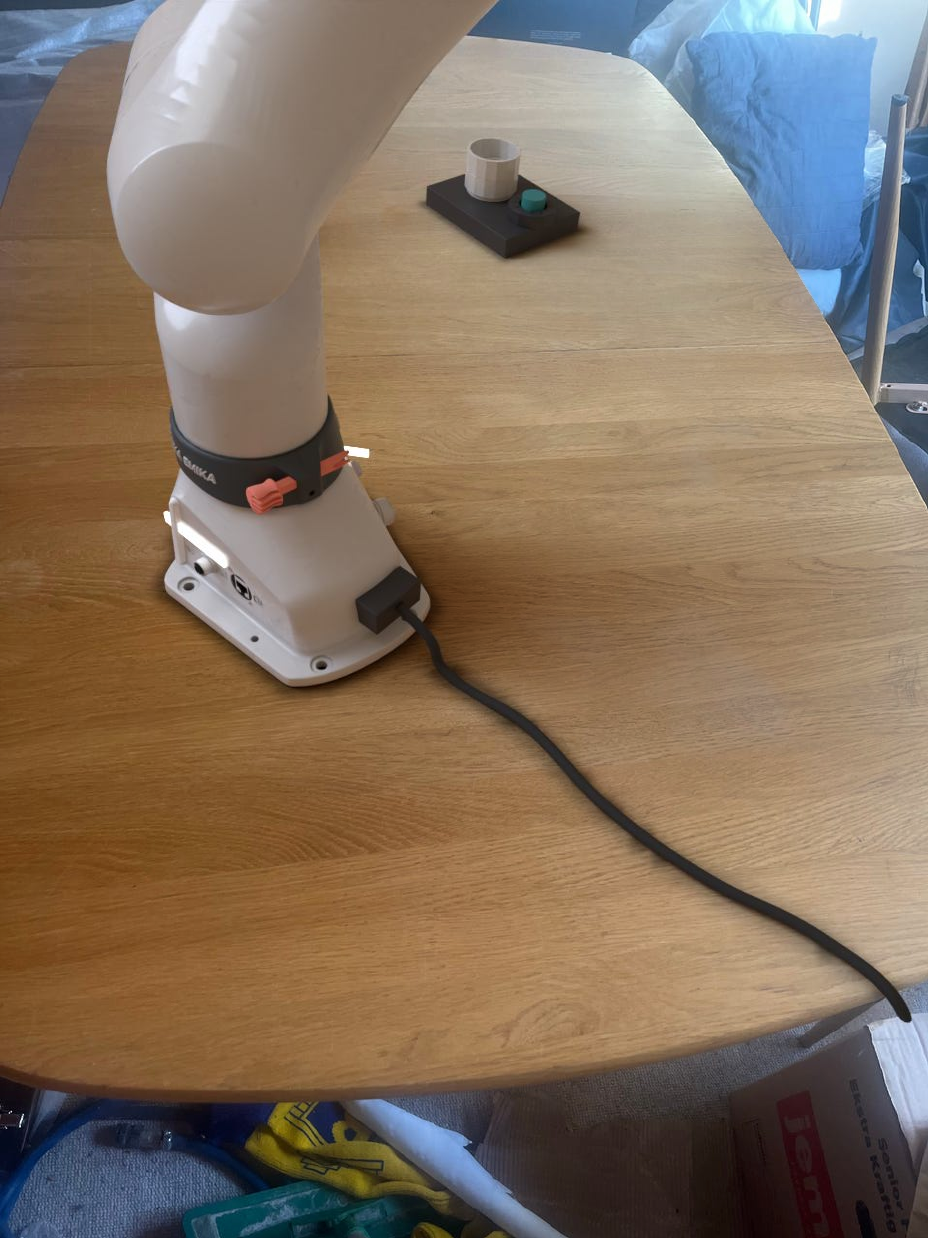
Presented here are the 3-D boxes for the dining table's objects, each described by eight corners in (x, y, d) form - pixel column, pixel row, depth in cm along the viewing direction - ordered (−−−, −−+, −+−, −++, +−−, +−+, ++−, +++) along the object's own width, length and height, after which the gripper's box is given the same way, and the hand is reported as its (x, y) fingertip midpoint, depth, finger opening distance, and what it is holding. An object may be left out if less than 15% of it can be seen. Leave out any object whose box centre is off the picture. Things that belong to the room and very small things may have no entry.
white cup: (526, 194, 118) (531, 153, 114) (487, 207, 115) (491, 166, 112) (493, 172, 121) (496, 132, 117) (454, 185, 118) (456, 144, 114)
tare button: (549, 209, 114) (551, 196, 113) (531, 215, 113) (533, 202, 111) (533, 199, 115) (535, 186, 114) (516, 205, 114) (517, 192, 113)
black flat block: (580, 232, 118) (586, 200, 115) (507, 260, 113) (511, 228, 110) (498, 180, 125) (501, 149, 122) (425, 204, 120) (426, 172, 117)
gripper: (553, -186, 96) (535, -27, 107) (398, -165, 87) (395, 8, 97) (599, -170, 94) (576, -9, 104) (445, -147, 84) (437, 29, 94)
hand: (488, 0), depth 101 cm, fingers open, 8 cm apart
